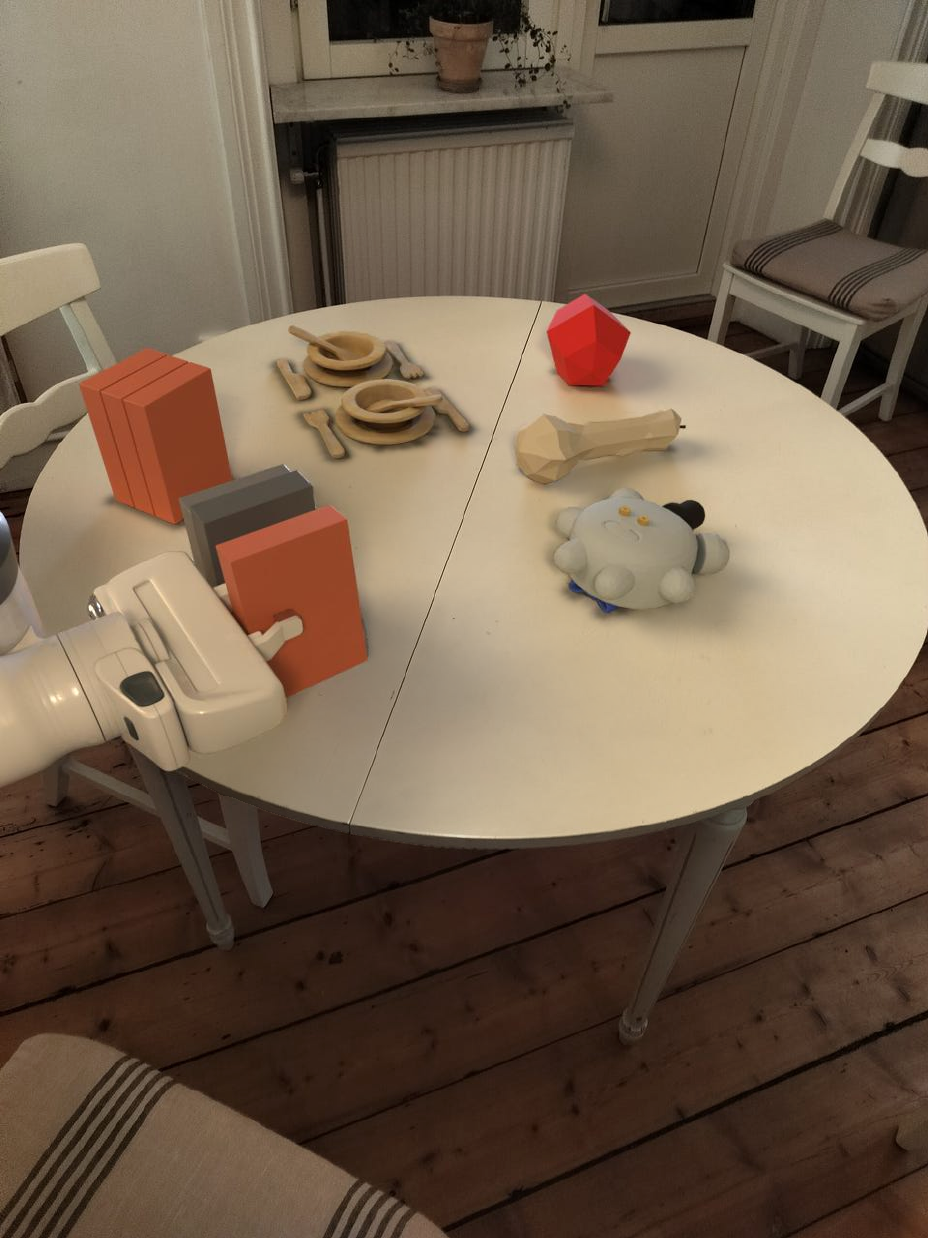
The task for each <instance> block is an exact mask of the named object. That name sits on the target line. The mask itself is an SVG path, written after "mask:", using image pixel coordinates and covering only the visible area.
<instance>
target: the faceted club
mask: <svg viewBox="0 0 928 1238" xmlns="http://www.w3.org/2000/svg"><path fill="white" fill-rule="evenodd" d="M681 423H682V417H681V416H680V415H679V413H677V412H676V411H675V410H674V409H672V408H667V409H665V410H658V411H655V412H652V413H648V414H646V415H645V414H644V415H642V416H635V417H630V418H622V419H617V420H615V419H614V420H604V421H603V420H602V421H585V422H584V423H583V424H581V423H572V422H567V421H565V420H563V419H561V418H559V417H557V416H556V415H550V414H541V415H538V416H535V417H532V418H530V419H529V420H528V421H527V422H526V423H525V424H524V425H523V426H522V427H521V428H520V429H518V431H517V434H516V438H515V442H514V452H515V453H514V454H515V457H516V458H515V459H516V464H515V465H516V467H518V468H519V469H520V470H521V472H522V473H523V474H524V475H525V476H526V477H527V478H530V479H532V480H533V481H535V482H538V483H539V484H542V485H543V484H547V483H552V482H556V481H558V480H560V479H561V478H564V477H565V476H566V475H568V473H570V472H571V470H572V469H573V468H574V467H575V466H576V465H578V463H579V462H580V461H585V460H590V459H597V458H602V457H608V456H609V457H610V456H615V455H617V456H621V457H624V456H627V455H630V454H633V453H636V452H640V451H655V452H656V451H658V452H660V451H661V452H663V451H664V452H665V451H666V450H667V449H668V448H669V445H670V444H671V443H672V442H673V441H674V440H675V439H676V438H677V437H678V435H679V432H680V429H684V430H685V429H686V428H687V425H685V424H683V425H682V424H681Z"/></svg>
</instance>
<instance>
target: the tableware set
mask: <svg viewBox="0 0 928 1238" xmlns="http://www.w3.org/2000/svg"><path fill="white" fill-rule="evenodd" d="M287 331H288V333H289V334H290V335H292V336H294V337H296V338H298V339H300V340H303V341H305V342H307V343H308V344H307V347H306V354H307V356H306V357H305V358H304V359H303V363H302V368H303V371H304V373H305V374H306V376H307V377H308V378H310V379H312V380H313V381H315V382H317V383H319V384H322V385H327V386H331V387H345V388H346V387H349V389H347V390H346V391H345V392H344V393H343V395H342V397H341V405H340V406H339V407H338V408H337V410H336V412H335V417H334V418H335V423H336V426H337V429H339V431H341V433H343V434H344V435H345V436H347V437H349V438H351V439H353V440H355V441H358V442H362V443H367V444H371V445H385V446H386V445H397V444H399V445H400V444H404V443H408V442H412V441H414V440H417V439H419V438H421V437H423V436H425V435H426V434H428V433H429V432H430V431H431V430H432V428H433V427H434V426H435V422H436V413H438V414H440V415H441V414H443V415H446V416H448V417H449V419H450V420H451V422H452V424H454V426H455V427H456V429H457V430H458V431H460V432H461V433H462V432H464V433H465V432H468V431H469V429H470V424H469V423H468V421H467V420H466V419H465V418H464V417H463V416H462V415H461V414H460V412H459V411H458V410H457V409H456V408H455V407H454V406H453V405H452V404H451V403H450V401H449V400H448V399H447V398H446V397H445V396H444V395H443V393H441V392H440V391H439V390H438V388H437V387H434V386H433V387H428V388H426V389H425V390H424V389H423V388H421V387H420V386H419V385H416V384H414V383H412V382H408V381H405V380H407V379H411V378H412V379H413V378H414V379H416V378H417V377H420V378H421V377H424V375H425V374H424V371H422V370H421V368H420V367H419V366H418V365H416V364H414V363H411V362H409V361H408V359H407V357H406V355H404V353H403V351H402V350H401V348H400V347H399V345H398V344H397V342H396V341H395V340H386V341H385V342H384V341H383V340H382V339H381V338H380V337H378V336H376V335H374V334H371V333H368V332H363V331H356V330H355V331H354V330H339V331H333V332H328V333H325V334H321V335H319V336H317V335H314V334H313V333H310V332H308V331H306V330H304V329H303V328H300V327H299V326H296V325H289V326H288V330H287ZM387 351H388V352H387ZM392 357H393V358H394V359H395V361H396V362H397V363H398V364H399V365H400V366H399V373H400V375H401V376H402V377H403V378H404V379H405V380H400V379H392V378H391V379H389V378H385V377H386V376H388V374H390V372H391V371H392V368H393V365H394V361H393V359H392ZM276 365H277V367H278V369H279V370H280V373H281V374H282V375H283V377H284V379H285V380H286V382H287V384H288V386H289V387H290V389H291V391H292V393H293V395H294V396H295V398H296V399H297V400H298V401H302V400H307V399H309V398H310V397H311V396H312V390H311V387H310V385H309V384H308V381H306V379H305V377H304V375H301V374H299V373H294V372H293V371H292V368H291V367H290V364H289V362H288V360H287V359H285V358H280V359H277V361H276ZM435 412H436V413H435ZM303 418H304V419H305V421H306V422H307V424H308V425H309V426H310V427H313V428H315V429H317V430H318V431H319V433H320V435H321V437H322V439H323V442H324V443H325V445H326V448H327V450H328V453H329V455H330V456H331V457H332V458H333V459H341V458H343V457H345V455H346V452H345V451H346V449H345V448H344V447H343V445H342V444H341V442H340V441H339V439H337V437H336V436H335V434H334V432H333V431H332V430H331V429H330V427H329V426H328V425H329V423H330V417H329V415H328V413H327V412H326V410H325V409H324V408H323V409H318V410H317V411H316V410H314V411H313V410H312V411H311V412H304V413H303Z"/></svg>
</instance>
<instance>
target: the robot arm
mask: <svg viewBox="0 0 928 1238" xmlns="http://www.w3.org/2000/svg"><path fill="white" fill-rule="evenodd" d="M85 610H86V613H87V615H88V616H89V617H90V618H91V620H90V621H87V622H84V623H81V624H79V625H77V626H74V627H70V628H69V629H66V630H63V631H61V632H58V633H56V634H53V635H50V636H48V637H45V630H44V626H43V622H42V619H41V617H40V615H39V612H38V609H37V607H36V604H35V602H34V599H33V594H32V592H31V590H30V588H29V586H28V583H27V581H26V579H25V576H24V574H23V572H22V568H21V566H20V565H19V561H18V556H17V553H16V549H15V545H14V541H13V538H12V534H11V530H10V527H9V523H8V522H7V519H6V518H5V516H4V514H3V512H1V511H0V789H1V788H4V787H7V786H9V785H12V784H14V783H17V782H20V781H21V780H24V779H26V778H29V777H31V776H34V775H35V774H37V773H40V772H42V771H44V770H46V769H48V768H49V767H50V766H52V765H53V764H55V763H56V762H57V761H58V760H60V759H61V758H62V757H64V756H66V755H68V754H70V753H72V752H74V751H77V750H81V749H85V748H89V747H96V746H100V745H104V744H105V743H108V742H109V741H112V740H114V739H117V738H119V737H121V739H122V740H123V741H124V742H125V743H127V744H128V745H130V746H131V747H132V748H134V749H135V750H137V751H138V752H140V753H141V754H142V755H143V756H145V757H146V758H148V760H150V761H151V762H153V763H154V764H155V765H156V766H157V767H158V768H160V769H161V770H163V771H166V772H172V771H175V770H178V769H181V768H182V767H185V766H186V765H187V764H188V763H189V762H190V761H191V753H190V751H192V752H194V753H197V754H201V755H210V754H211V755H212V754H215V753H220V752H223V751H225V750H228V749H231V748H233V747H236V746H238V745H241V744H243V743H246V742H248V741H250V740H252V739H254V738H258V737H259V736H262V735H263V734H265V733H267V732H270V731H272V730H273V729H275V728H276V727H277V726H278V727H279V725H280V724H281V722H282V721H283V719H284V718H285V716H286V715H287V712H288V704H287V698H286V697H285V693H284V688H283V685H282V683H281V682H280V680H279V679H278V678H277V676H276V675H275V673H274V672H273V671H272V669H271V668H270V667H269V665H268V664H267V662H266V661H268V660H271V659H272V657H273V656H274V655H275V654H276V652H277V651H278V650H279V649H280V647H281V646H282V645H283V644H284V641H286V640H289V639H291V638H293V637H296V636H298V635H300V634H301V633H302V631H303V625H302V620H301V619H300V617H298V615H297V614H296V613H295V612H294V611H293V610H292V609H288V610H286V611H285V612H281V613H278V614H276V615H273V616H274V621H275V624H274V625H273V626H272V627H271V628H270V629H269V630H268V631H267V632H266V633H265V634H264V635H262V634H261V632H260V631H257V632H255V633H253V634H250V635H248V636H247V635H246V634H245V632H244V631H243V629H242V628H241V627H240V625H239V624H238V623H237V621H236V620H235V619H234V617H233V616H232V614H231V613H232V612H233V610H232V606H231V602H230V599H229V595H228V591H227V587H226V583H224V584H222V585H219V586H216V587H214V588H212V587H211V586H210V584H209V583H208V581H207V580H206V579H205V577H204V576H203V575H202V573H201V572H200V571H199V569H198V568H197V566H196V565H195V562H194V560H193V559H192V558H191V557H190V555H189V553H187V552H185V551H178V550H177V551H176V550H170V551H165V552H164V553H161V554H159V555H156V556H153V557H151V558H149V559H147V560H145V561H142V562H139V563H138V564H136V565H133V566H132V567H130V568H127V569H126V570H123V571H122V572H120V573H118V574H117V575H115V576H114V577H112V578H111V579H110V580H109V581H108V582H107V583H105V584H102V585H100V586H98V587H96V588H95V589H94V590H93V592H92V593H91V595H90V596H89V598H88V601H86V603H85Z"/></svg>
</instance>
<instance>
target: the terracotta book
mask: <svg viewBox="0 0 928 1238" xmlns="http://www.w3.org/2000/svg"><path fill="white" fill-rule="evenodd" d="M315 509H316V508H315ZM216 549H217V553H218V557H219V561H220V564H221V568H222V572H223V576H224V580H225V583H226V587H227V591H228V595H229V599H230V602H231V606H232V610H233V614H234V618H235V620H236V621H237V623H238V624H239V625H240V627H241V628H242V629H243V631H244V632H245V634H246V635H247V636H248V635H250V634H253V633H255V632H257V631H260V632H261V634H262V635H264V634H265V633H266V632H267V631H268V630H269V629H270V628H271V627H272V626H273V625H274V624H275V621H274V616H273V615H276V614H278V613H281V612H285V611H286V610H288V609H292V610H293V611H294V612H295V613H296V614H297V615H298V617H300V619H301V620H302V625H303V631H302V633H301V634H300V635H298V636H296V637H293V638H291V639H289V640H286V641H284V644H283V645H282V646H281V647H280V649H279V650H278V651H277V652H276V654H275V655H274V656H273V657H272V659H271V660H268V661H266V662H267V664H268V665H269V667H270V668H271V669H272V671H273V672H274V673H275V675H276V676H277V678H278V679H279V680H280V682H281V683H282V685H283V688H284V693H285V697H286V699H287V698H289V697H291V696H293V695H296V694H298V693H301V692H302V691H304V690H307V689H309V688H311V687H313V686H315V685H317V684H320V683H322V682H324V681H326V680H328V679H330V678H332V677H335V676H337V675H339V674H341V673H343V672H345V671H348V670H350V669H352V668H355V667H356V666H359V665H361V664H363V663H365V662H367V661H368V653H367V646H366V640H365V639H366V638H365V632H364V626H363V619H362V611H361V605H360V598H359V591H358V584H357V578H356V577H357V576H356V570H355V562H354V555H353V550H352V549H353V548H352V542H351V534H350V528H349V521H348V518H346V516H344V515H343V514H342V513H341V512H340V511H339V510H337V509H336V508H335V507H334V506H332V505H331V504H328V505H325V506H322V507H319V508H317V509H316V510H314V511H311V512H308V513H305V514H302V515H300V516H297V517H294V518H291V519H288V520H286V521H283V522H280V523H277V524H274V525H272V526H269V527H266V528H263V529H260V530H258V531H255V532H252V533H249V534H246V535H244V536H241V537H238V538H235V539H233V540H230V541H227V542H224V543H221V544H219V545H216Z"/></svg>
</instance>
